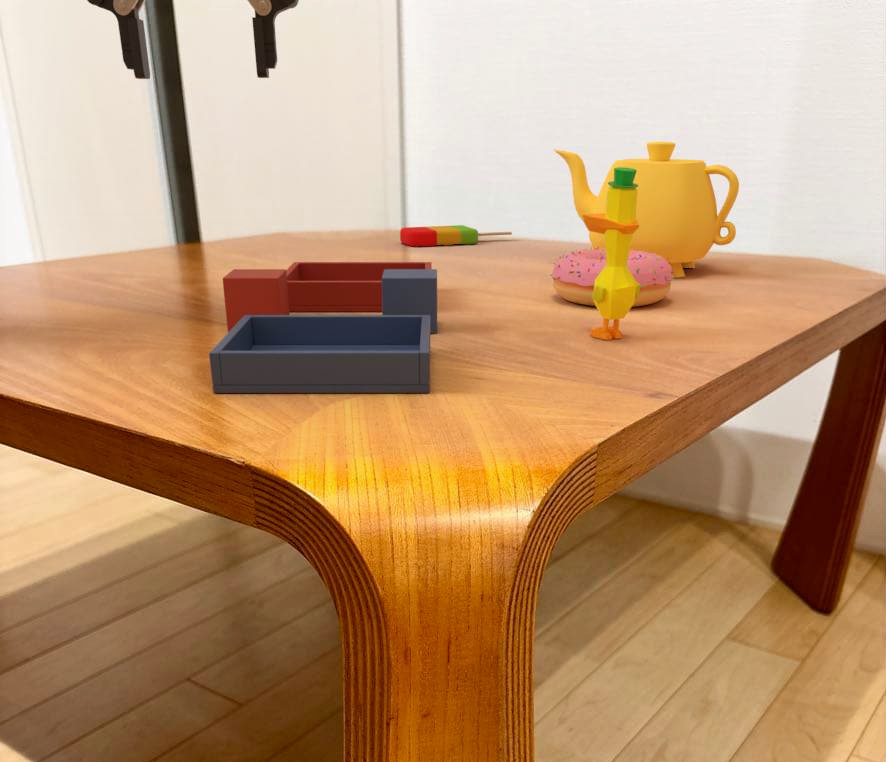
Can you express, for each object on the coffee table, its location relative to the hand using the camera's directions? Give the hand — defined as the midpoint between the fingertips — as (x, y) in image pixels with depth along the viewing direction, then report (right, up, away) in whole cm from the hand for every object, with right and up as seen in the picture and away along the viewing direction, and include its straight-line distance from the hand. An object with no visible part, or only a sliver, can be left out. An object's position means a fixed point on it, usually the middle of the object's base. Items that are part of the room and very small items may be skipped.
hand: (203, 78), depth 66 cm
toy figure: (+30, -18, +4) cm, 35 cm away
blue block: (+15, -16, +7) cm, 23 cm away
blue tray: (+10, -22, -5) cm, 24 cm away
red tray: (+10, -11, +18) cm, 23 cm away
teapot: (+38, -4, +34) cm, 52 cm away
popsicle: (+19, +6, +54) cm, 58 cm away
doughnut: (+33, -11, +18) cm, 39 cm away
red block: (+3, -16, +7) cm, 18 cm away
